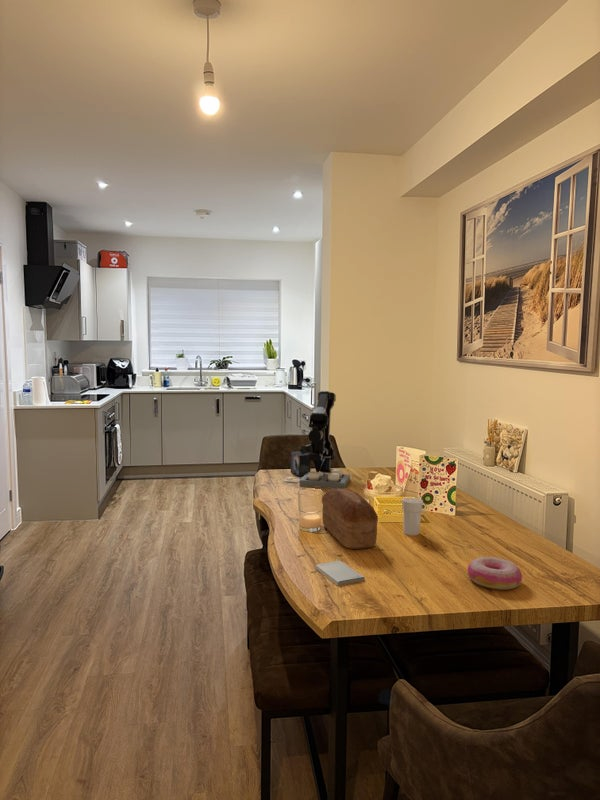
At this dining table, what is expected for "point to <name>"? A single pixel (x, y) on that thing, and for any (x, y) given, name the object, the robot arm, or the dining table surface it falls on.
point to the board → (320, 481)
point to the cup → (411, 515)
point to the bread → (349, 518)
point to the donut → (494, 573)
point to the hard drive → (339, 573)
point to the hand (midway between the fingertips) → (317, 472)
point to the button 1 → (313, 476)
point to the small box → (299, 463)
